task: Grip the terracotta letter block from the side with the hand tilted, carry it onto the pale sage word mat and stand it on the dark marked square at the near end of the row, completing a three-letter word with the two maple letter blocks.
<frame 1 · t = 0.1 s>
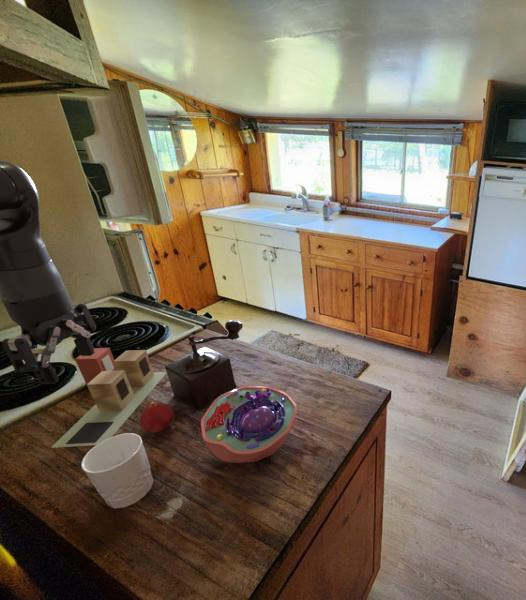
hand: (70, 368, 61), 18 cm above the counter, tool pointing down, fingers open, 8 cm apart
maple letter middle: (117, 404, 77), resting on word mat
manual coffee grinder: (216, 387, 84), on the counter
cell model: (255, 443, 69), on the counter
letter block: (103, 378, 85), on the counter
word mat: (118, 405, 77), on the counter
white cup: (131, 491, 59), on the counter
maple letter far: (139, 380, 85), resting on word mat
red rounded lump: (162, 430, 71), on the counter
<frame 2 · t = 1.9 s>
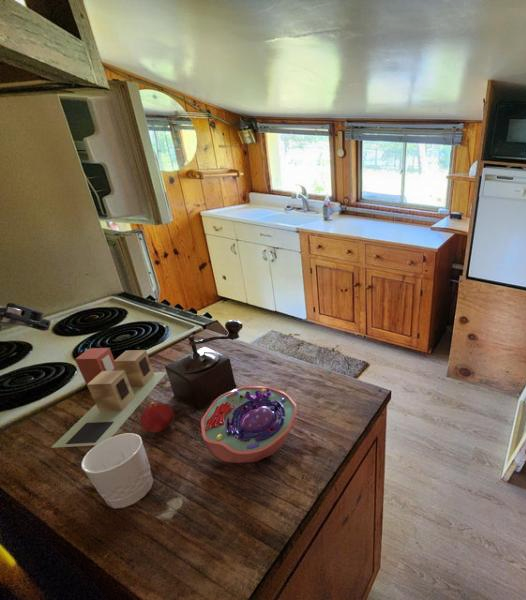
hand: (23, 326, 65), 22 cm above the counter, tool tilted 45°, fingers open, 8 cm apart
nothing on the counter moved.
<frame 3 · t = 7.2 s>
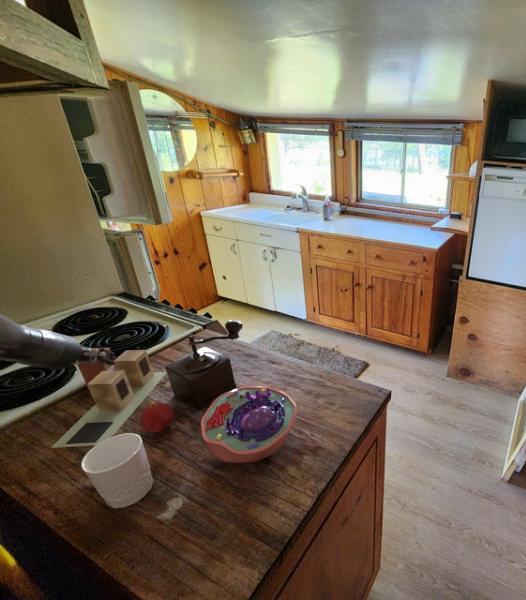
hand: (103, 361, 85), 4 cm above the counter, tool tilted 45°, fingers closed on letter block, 5 cm apart
letter block: (103, 378, 85), on the counter, touching gripper
everything else where it was.
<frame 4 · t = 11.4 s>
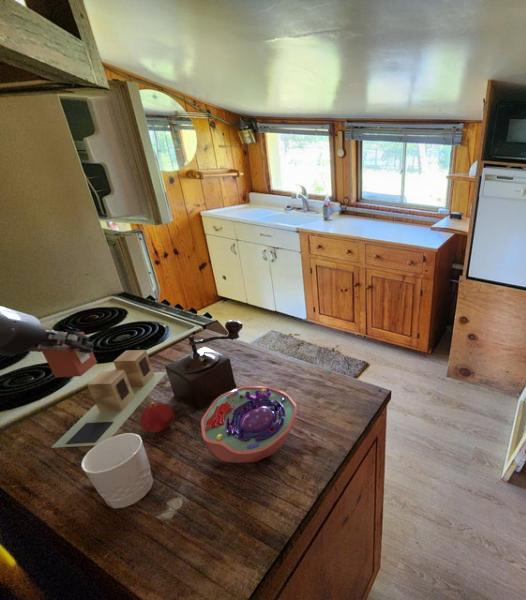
hand: (76, 348, 70), 16 cm above the counter, tool tilted 45°, fingers closed on letter block, 5 cm apart
letter block: (77, 369, 70), point 12 cm above the counter, touching gripper
everything else where it was.
when the fingers open (5 cm above the counter, at t = 15.9 s): letter block stays where it is, resting on word mat.
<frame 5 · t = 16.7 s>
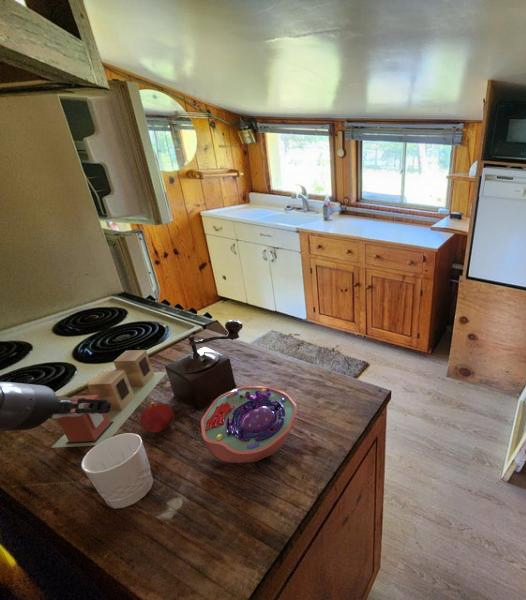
hand: (86, 408, 68), 6 cm above the counter, tool tilted 45°, fingers open, 8 cm apart
letter block: (90, 432, 69), resting on word mat
everything else where it was.
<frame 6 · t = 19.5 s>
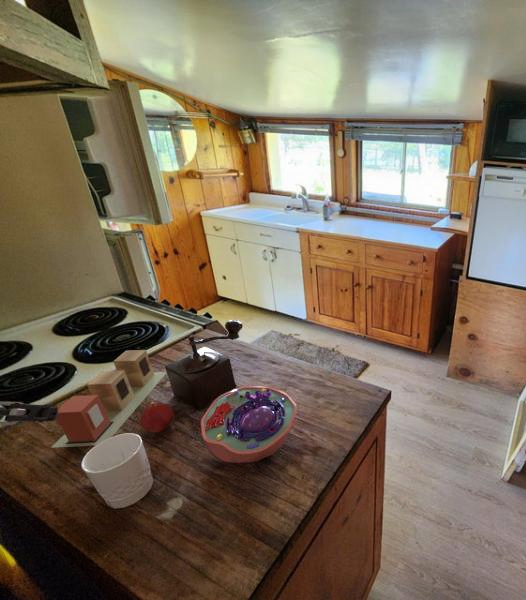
hand: (26, 415, 56), 14 cm above the counter, tool tilted 45°, fingers open, 8 cm apart
nothing on the counter moved.
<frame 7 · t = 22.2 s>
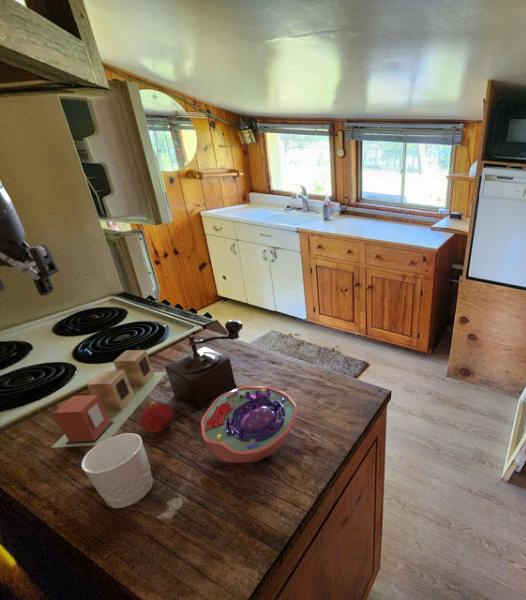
hand: (22, 292, 66), 29 cm above the counter, tool pointing down, fingers open, 8 cm apart
nothing on the counter moved.
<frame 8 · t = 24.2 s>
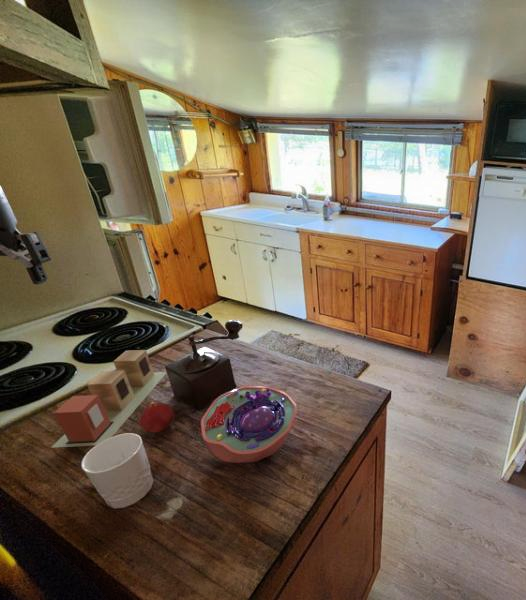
hand: (17, 283, 66), 30 cm above the counter, tool pointing down, fingers open, 8 cm apart
nothing on the counter moved.
at the end: letter block 0.0 cm from the target spot, point 0.5 cm above the counter; letter block tilted 0°; the gripper is holding nothing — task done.
